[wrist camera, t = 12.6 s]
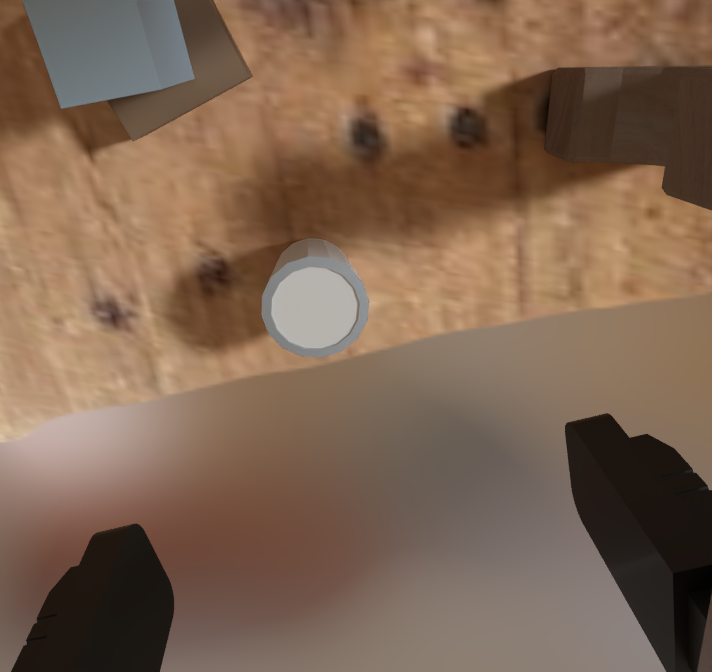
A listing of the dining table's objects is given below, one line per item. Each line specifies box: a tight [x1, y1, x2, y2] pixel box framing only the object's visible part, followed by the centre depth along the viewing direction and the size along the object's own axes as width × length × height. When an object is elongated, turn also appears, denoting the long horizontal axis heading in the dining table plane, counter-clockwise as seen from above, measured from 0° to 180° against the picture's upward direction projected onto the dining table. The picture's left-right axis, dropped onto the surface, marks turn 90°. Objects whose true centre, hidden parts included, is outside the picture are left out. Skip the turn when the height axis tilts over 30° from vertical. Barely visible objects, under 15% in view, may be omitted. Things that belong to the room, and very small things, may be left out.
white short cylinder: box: [261, 238, 369, 357], centre depth 43 cm, size 7×7×7 cm
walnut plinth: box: [107, 0, 253, 141], centre depth 38 cm, size 8×8×4 cm
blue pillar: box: [23, 0, 195, 109], centre depth 31 cm, size 4×4×10 cm
